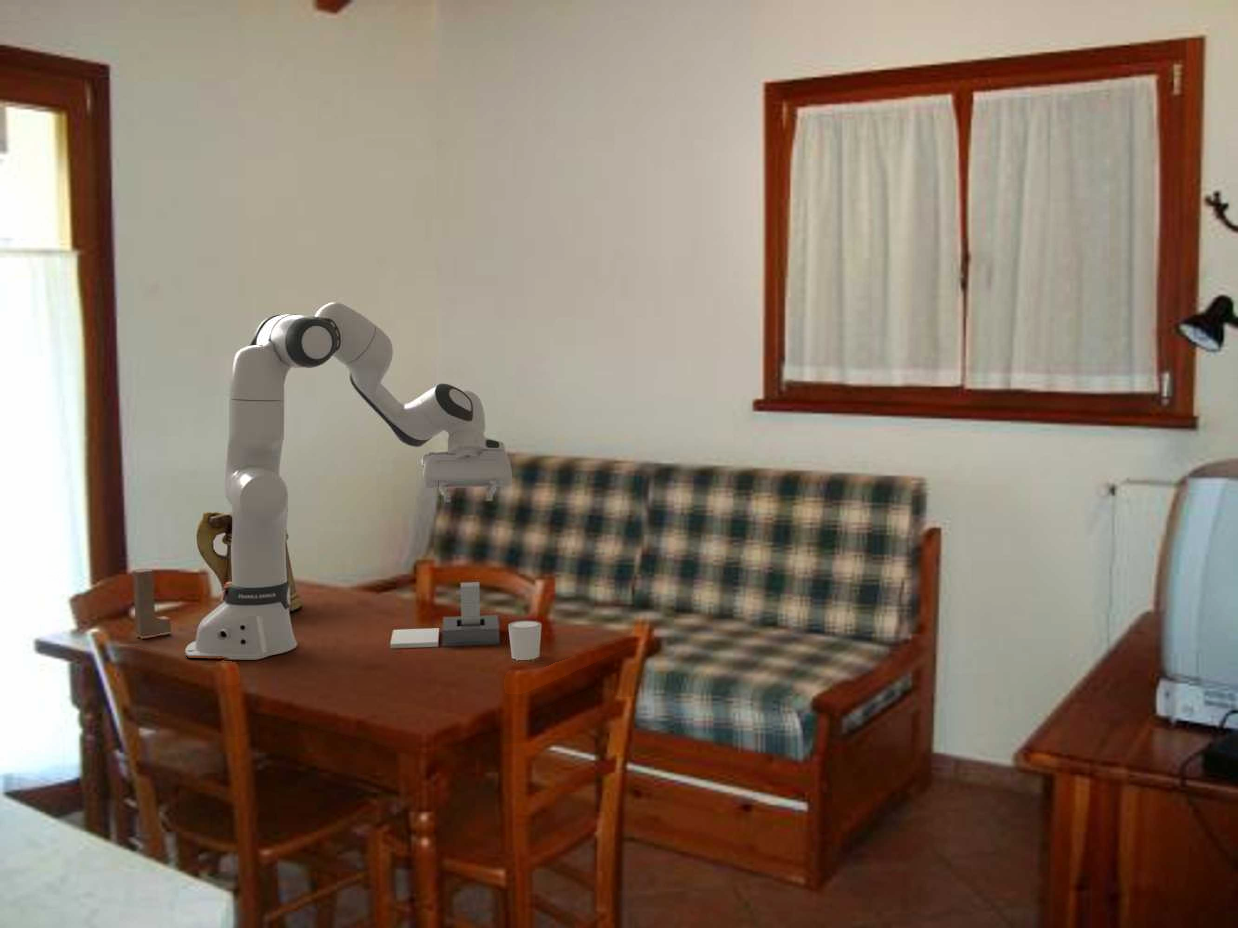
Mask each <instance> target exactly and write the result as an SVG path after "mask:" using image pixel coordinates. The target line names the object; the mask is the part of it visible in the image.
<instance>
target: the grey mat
mask: <svg viewBox="0 0 1238 928" xmlns="http://www.w3.org/2000/svg"><path fill="white" fill-rule="evenodd" d="M391 634H392V635H391V640H390V643H389V644H390V649H407V648H410V649H411V648H413V649H414V648H438V647H439V637H440V628H439V627H438V628H434V627H433V628H407V629H406V628H404V629H393V630H392V633H391Z"/></svg>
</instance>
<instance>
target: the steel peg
mask: <svg viewBox="0 0 1238 928" xmlns="http://www.w3.org/2000/svg"><path fill="white" fill-rule="evenodd" d="M480 593H481V592H480V582H479V581H473V582H472V581H471V582H460V612H461V615H460V616H461V624H462V626H480V616H481V604H480V603H481V601H480V599H481V598H480Z"/></svg>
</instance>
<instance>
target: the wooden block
mask: <svg viewBox="0 0 1238 928" xmlns="http://www.w3.org/2000/svg"><path fill="white" fill-rule="evenodd" d="M132 579H133V581H132V582H133V597H134V600H133V601H134V616H135V617H134V619H135V634H136V633H137V634H138V635H139V636H149V635H156V634H160V633H165V632H172V631H171V618H170V617H167V616H165V615H163V616H157V614H156V610H155V609H156V607H155V591H154V587H155V586H154V571H153V570H152V569H150V568H147V567H146V568H141V569H140V568H139V569H134V570H132Z"/></svg>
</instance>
